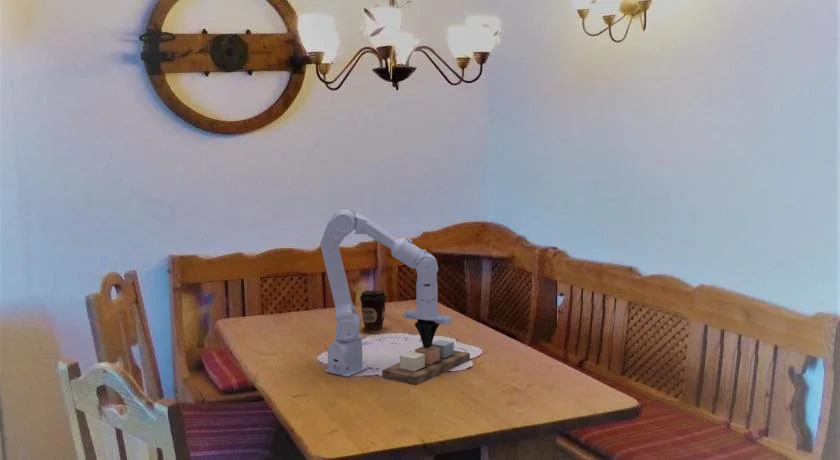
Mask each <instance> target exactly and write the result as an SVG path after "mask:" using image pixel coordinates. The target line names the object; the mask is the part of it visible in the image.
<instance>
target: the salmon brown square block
mask: <svg viewBox="0 0 840 460" xmlns="http://www.w3.org/2000/svg"><path fill="white" fill-rule="evenodd" d="M414 352H417V353H422V354H425V364H428V365H430V364H432V363H435V362H437V361H439V360H440V348H437V347H432V346H431V347H429V348H424V347H423V345H422V346H420V347H417V348H415V349H414Z"/></svg>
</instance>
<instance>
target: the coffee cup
mask: <svg viewBox="0 0 840 460" xmlns="http://www.w3.org/2000/svg"><path fill="white" fill-rule="evenodd" d="M387 298H388V296H387V295H386V294H385V292H384V290H375V289H374V290H363V291H362V292H361V295H360V296H359V299H360V302H361V303H360V304H361V305H360V309H361V310H360V311H361V319H362V323H363V325H364V327H363V331H364V332H365V333H369V334H370V333H371V334H374V333H375V334H379V333H383V332H384V328H383V327H384V326H383V325H384V320H385V315H386V303H387Z"/></svg>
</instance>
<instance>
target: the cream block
mask: <svg viewBox="0 0 840 460" xmlns="http://www.w3.org/2000/svg"><path fill="white" fill-rule="evenodd" d="M399 363H400V368H401V369H406V370H410V371H416V370H419V369H421V368H423V367H425V354H422V353H417V352H415V351H412V350H411V351H408V352H404V353H403V354H400V355H399Z"/></svg>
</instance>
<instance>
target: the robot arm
mask: <svg viewBox="0 0 840 460" xmlns="http://www.w3.org/2000/svg"><path fill="white" fill-rule="evenodd" d="M353 231H354V235H366V236H368V237H370V238H371V239H374V240H375V241H377V242H378V243H380V244H382V245H383V246H385V247H387V248H388V249H390V253H391V256H392V257H394V258H395V259H397V261H400V262H401V263H402V264H404V265H406V266H407V267H409V268H411V269H415V270H416V273H417V277H416V278H417V281H416V285H415V286H416V310H409V309H408V310H405V311H403V319H409V320H410V319H411V320H417V321H416V322H415V323H414V327H415V329H416V330H417V332H418V334H419V336H420V339H421V343H422V346H423V347H424V348H429V347H431V346H432V342H434V338H435V334H436V332H437V329H438V328H439V326H440V324H441V325H444V326H446V327H447V326H449V325H452V316H447V315H444V314H441V313H439V311H438V310H439V309H438V308H439V307H438V300H439V299H438V298H439V297H438V281H437V280H438V275H437V273H438V272H439V265H438V261H437V258H436V257H435V256H434V255H433V254H432V253H431V252H428V251H427V250H426V248H424V249H421V248H420V247H419V246H417V245H415V244H414V243H413V240H412V239H410V238H407V239H406V237H405V238H404V237H401V238H396V237H394V236H393V235H392V234H391V233H389V232H388V231H386V230H385V229H383V228H382V227H380V226H379V225H377V224H376V223H375V222H373V220H371V219H369V218H368V217H365V216H364V215H362V214H360V213H358V212H356V213H355V211H354V210H352V209H350V208H348V207H342V208H340V209H338V210H336V212H335V213H334V214H333V215H332V217H330V220H329V221H328V222H327V225H326V227H325V230H324V232H323V234H322V237H321V239H320V251H321V254H322V257H323V262H324V266H325V270H326V274H327V278H328V282H329V287H330V291H331V294H332V299H333V300H332V301H333V303H334V304H333V305H334V308H335V317H336V325H335V332H336V333H335V334H336V335H335V340H334V341H333V342H331V344H329V346H328V348H327V369H325V372H326V373H329V374H334V375H338V376H343V377H345V378H346V377H350V376H351V377H352V376H353V375H356V374H357V373H360V372H364V371H365V370H368V369H370V366H369V365H365V364H363V335H362V334H361V333H360V327H361V324H362V320H361V319H362V317H361V316H360V315H359V313H358V312H357V311H356V309H355V305H354V303H353V300H352V297H351V292H350V287H349V283H348V279H347V275H346V272H345V267H344V263H343V260H342V259H343V258H342V254H341V251H340V250H341V249H340V245H341V244H342V242H343V241H344V238H346V237H347V236H349V235H350V234H351V233H352V232H353Z"/></svg>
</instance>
